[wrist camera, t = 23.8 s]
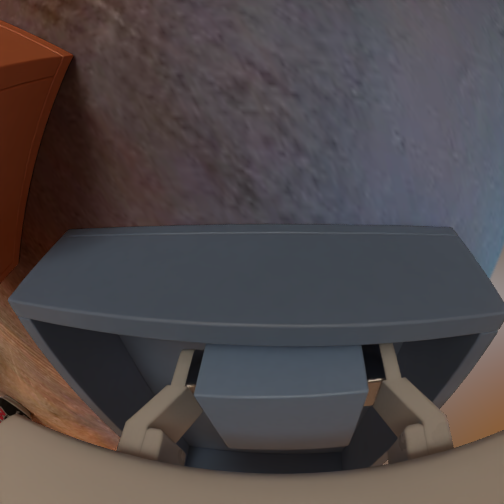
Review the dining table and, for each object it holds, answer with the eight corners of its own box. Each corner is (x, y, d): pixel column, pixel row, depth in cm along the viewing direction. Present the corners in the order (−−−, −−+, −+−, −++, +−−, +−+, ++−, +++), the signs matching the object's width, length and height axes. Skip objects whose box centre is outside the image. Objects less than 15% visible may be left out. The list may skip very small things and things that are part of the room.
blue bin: (68, 228, 11) (6, 299, 8) (452, 226, 10) (510, 311, 6) (184, 441, 25) (176, 482, 21) (347, 448, 23) (349, 490, 19)
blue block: (347, 276, 10) (369, 391, 6) (340, 353, 13) (348, 446, 9) (219, 284, 11) (192, 395, 7) (241, 358, 13) (228, 448, 10)
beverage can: (-3, 392, 32) (-27, 445, 22) (7, 393, 30) (-19, 453, 20) (26, 415, 35) (4, 467, 26) (39, 417, 33) (16, 476, 23)
